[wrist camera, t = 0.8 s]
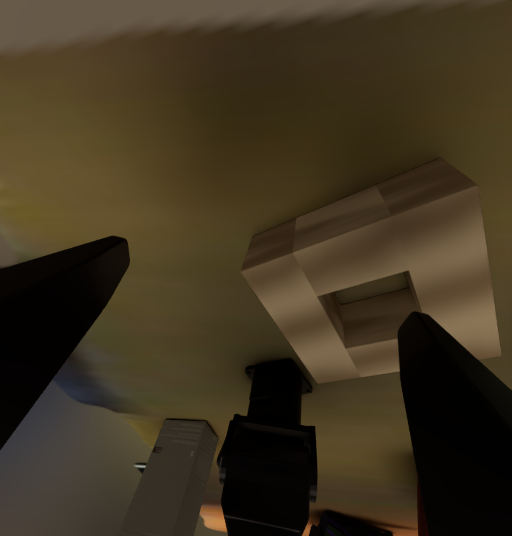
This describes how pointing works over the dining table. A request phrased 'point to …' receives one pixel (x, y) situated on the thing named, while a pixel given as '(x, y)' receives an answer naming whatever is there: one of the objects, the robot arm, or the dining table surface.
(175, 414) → the dining table surface
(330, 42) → the dining table surface
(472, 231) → the socket block
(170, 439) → the skincare box
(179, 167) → the dining table surface
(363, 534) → the decorative plant
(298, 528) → the robot arm
